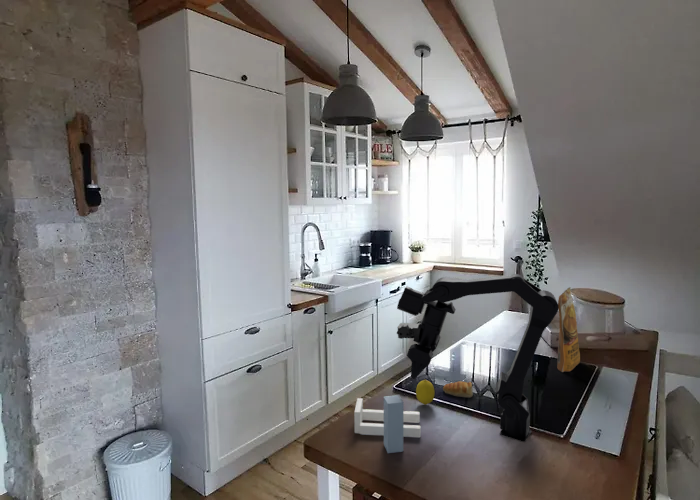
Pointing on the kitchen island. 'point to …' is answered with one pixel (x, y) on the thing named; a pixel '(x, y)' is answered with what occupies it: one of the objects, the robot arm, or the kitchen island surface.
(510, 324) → the kitchen island surface
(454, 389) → the pastry
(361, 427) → the track
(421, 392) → the lemon
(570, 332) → the pancake mix bag
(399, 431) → the blue gray block
